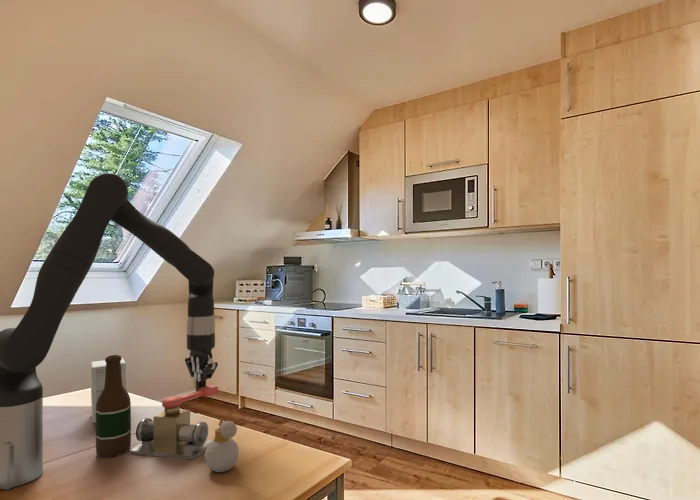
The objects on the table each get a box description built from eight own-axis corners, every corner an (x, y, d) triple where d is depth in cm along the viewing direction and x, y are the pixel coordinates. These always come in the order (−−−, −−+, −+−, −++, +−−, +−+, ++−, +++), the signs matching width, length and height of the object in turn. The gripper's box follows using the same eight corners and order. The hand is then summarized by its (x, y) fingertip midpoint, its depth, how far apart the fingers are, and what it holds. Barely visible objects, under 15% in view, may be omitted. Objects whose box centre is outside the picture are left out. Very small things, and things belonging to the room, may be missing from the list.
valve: (194, 459, 104) (193, 413, 105) (129, 453, 108) (129, 409, 108) (213, 444, 113) (213, 401, 113) (153, 439, 117) (152, 398, 117)
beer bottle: (137, 446, 112) (137, 353, 113) (114, 459, 105) (113, 360, 106) (113, 443, 115) (112, 352, 115) (88, 456, 107) (88, 358, 108)
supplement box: (124, 408, 142) (124, 357, 143) (127, 417, 134) (127, 362, 135) (90, 414, 137) (90, 361, 138) (91, 423, 129) (91, 367, 130)
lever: (168, 409, 108) (168, 401, 108) (158, 406, 110) (158, 398, 110) (219, 393, 120) (219, 386, 120) (209, 391, 123) (209, 384, 123)
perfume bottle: (222, 459, 104) (222, 408, 105) (253, 468, 99) (252, 415, 100) (197, 472, 98) (196, 418, 98) (228, 483, 93) (227, 426, 93)
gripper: (175, 331, 123) (175, 392, 123) (203, 336, 115) (202, 401, 115) (199, 327, 129) (199, 386, 129) (226, 332, 121) (226, 394, 121)
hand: (200, 393), depth 122 cm, fingers closed
